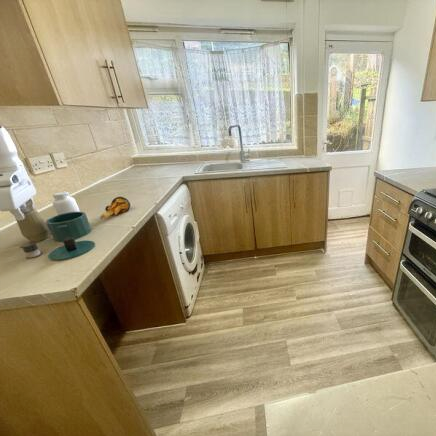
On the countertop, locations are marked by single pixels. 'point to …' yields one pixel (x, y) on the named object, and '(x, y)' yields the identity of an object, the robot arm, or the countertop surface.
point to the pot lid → (71, 249)
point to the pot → (68, 225)
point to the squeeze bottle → (33, 225)
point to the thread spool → (31, 249)
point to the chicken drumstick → (117, 207)
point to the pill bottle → (64, 203)
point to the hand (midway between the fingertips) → (26, 214)
